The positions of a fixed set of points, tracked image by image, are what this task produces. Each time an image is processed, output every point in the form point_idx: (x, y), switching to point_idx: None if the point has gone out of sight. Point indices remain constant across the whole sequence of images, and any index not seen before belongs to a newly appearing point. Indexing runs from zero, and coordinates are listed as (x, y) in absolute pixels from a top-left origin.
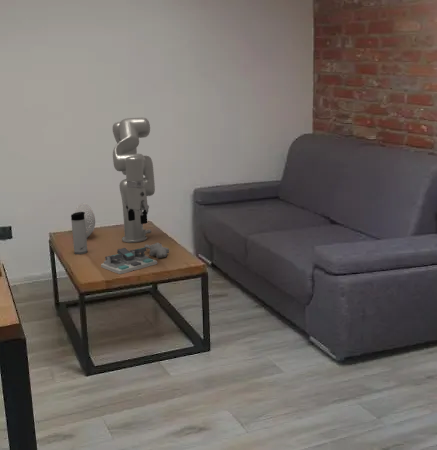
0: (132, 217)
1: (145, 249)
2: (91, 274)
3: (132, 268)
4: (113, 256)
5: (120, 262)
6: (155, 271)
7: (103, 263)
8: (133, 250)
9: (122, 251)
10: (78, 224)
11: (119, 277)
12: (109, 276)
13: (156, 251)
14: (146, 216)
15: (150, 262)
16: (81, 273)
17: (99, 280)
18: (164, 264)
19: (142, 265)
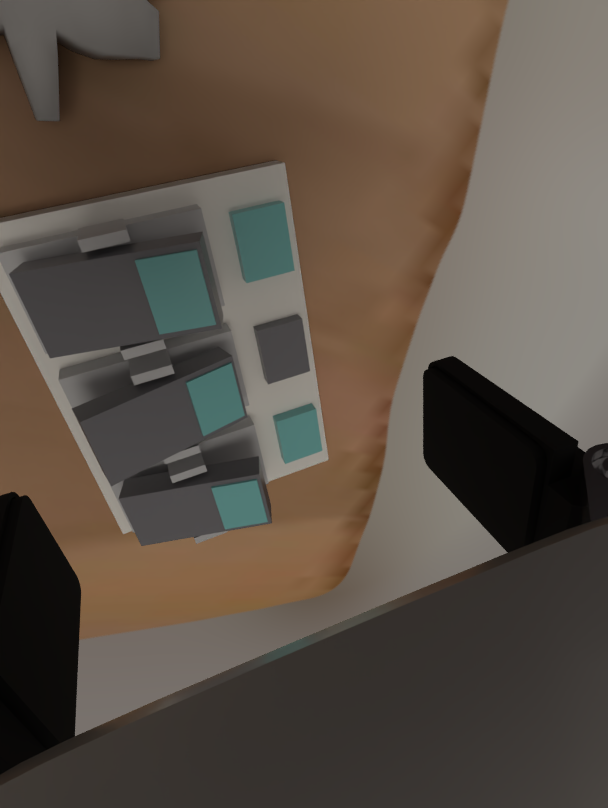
0: (43, 580)
1: (204, 247)
2: (229, 565)
3: (314, 380)
4: (261, 522)
5: (230, 446)
6: (412, 252)
7: (121, 520)
8: (128, 344)
9: (152, 447)
10: None
11: (363, 457)
12: (316, 496)
13: (80, 45)
14: (535, 425)
15: (293, 232)
16: (182, 604)
17: (339, 538)
18: (322, 110)
19: (303, 305)
